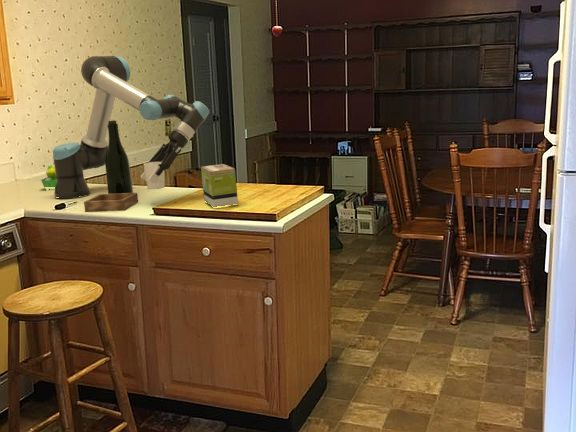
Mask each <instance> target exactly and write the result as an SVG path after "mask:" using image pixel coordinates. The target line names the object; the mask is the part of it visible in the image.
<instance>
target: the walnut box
mask: <svg viewBox="0 0 576 432" xmlns="http://www.w3.org/2000/svg"><path fill="white" fill-rule="evenodd" d="M138 203H139V195H138V192H133V193H118V194H108V193H101V194H100V193H99V194H97V195H96V196H93V197H91V198H89V199H88V200H85V201H84V202H83V204H84V205H83V206H84V212H85V213H92V212H93V213H96V212H119V211H120V212H121V211H126V210H128V209H130V208H132V207H133V206H134V205H136V204H138Z"/></svg>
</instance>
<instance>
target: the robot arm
mask: <svg viewBox="0 0 576 432" xmlns="http://www.w3.org/2000/svg"><path fill="white" fill-rule="evenodd" d="M80 68H81V69H80V73H81V76H82V78H83V80H84V81H85V82H86V83H87V84H88V85H90V86H91V87H93V88H95V89H96V91H95V94H94V99H93V103H92V109H91V111H90V116H89V120H88V125H87V130H86V134H85V135H83V136H82V137H81V141H80V143H79V142H76V141H75V142H68V143H62V144H59V145H57V146H55V147H53V149H52V154H53V155H52V158H53V164H54V167H55V172H56V179H57V182H56V187H55V190H54V198H55V197H59V198H71V199H74V198H73V197H79V196H84V195H87V196H89V195H90V194H91V191H90V188H89V185H88V184H87V181H86V179H85V176H84V171H86V170H91V169H98V168H101V167H103V166H105V158H106V153H107V149H108V144H109V142H108V140H106V137H107V135H108V127H107V126H108V121H111V117H112V113H113V109H114V105H115V101H116V99H118V100H120V101H122V102H123V103H125V104H127V105H129V106H130V107H132V108H134V109H135V110H138V111H139V114H140V115H141V117H142V118H143V119H145V120H146V121H155V120H160V119H161V120H162V119H169V118H177V119H179V122H178V123H177V124H176V126H175V127H174V129H173V130H172V131H171V132H170V134H169V135H168V137H167V138H168V140H169V142H167V143H166V144H165V143H163V144H162V145H161V146H160V148H159V149H158V151H156V153H155V154H154V155H153V156H152V158H150V160H149V161H148V163H149V162H161V164H158V165H159V166H160V167H159V166H158V167H157V168H156V170H155V171H154V172H153V173H152V175H151V176H150V177H149V179H148V180H150V181H151V182H152V183H153V184H154V183H155V182H156V180H157V179H158V178H159V176H160V175H161V174H162V172H163V171H164V172H165V171H166V170H169V169H170V167H171V165H172V164H173V163H174V161H175V160H176V158H177V156H178V155H179V154H180V153H181V152H182V149H184V148H185V146H186V145H188V143H189V141H190V140H191V139H192V138H194V134H195V133H196V132H197V131H198V129H199V128H200V127H201V125H202V124H203V123H204V122H205V121H206V119H207V117H208V115H209V114H210V109H209V108H208V106H207V105H205V104H204V103H203V102H202V101H200V100H199V101H198V100H196V101H194V102H193V103H189V102H187V101H185V100H184V99H181V98H180V97H179V96H177V95H176V96H175V95H173V94H167V95H166V96H164V97H163V99H162V98H161V99H158V98H155V97H153V96H152V95H150V94H148V93H147V92H145V91H143V90H141V89H140V88H138V87H137V86H134V85H132V84H131V83H129V82H128V81H129V80H130V77H131V68H130V66H129V63H128V61H127V60H126V59H125V58H123V57H122V56H118V55H117V56H116V55H104V56H103V55H100V56H99V55H94V56H93V55H92V56H89V57H88V58H86V59H85V60H84V61H83V62H82V64H81V67H80ZM140 179H142V180H143V181H145V182H146V177H145V171H143V173H141V175H140ZM88 194H89V195H88ZM84 197H85V196H84ZM79 198H80V197H79Z"/></svg>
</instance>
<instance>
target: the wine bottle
mask: <svg viewBox="0 0 576 432" xmlns="http://www.w3.org/2000/svg"><path fill="white" fill-rule="evenodd" d="M107 127H108V131H107V134H108V149H107V153H106V158H105V165H104V166H105V175H106V185H107V186H106V187H107V194H118V193H134V187H133V182H132V181H133V180H132V173H131V167H130V162H129V157H128V154H127V152H126V151H125V148H124V146H123V145H122V141H121V138H120V132H119V124H118V123H117V120H110V121H108V126H107Z"/></svg>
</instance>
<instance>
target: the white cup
mask: <svg viewBox="0 0 576 432" xmlns="http://www.w3.org/2000/svg"><path fill="white" fill-rule="evenodd" d="M161 162H162V161H161ZM161 162H149V161H148V162H145V163H143V170H144V171H145V177H146V181H145V182H146V188H147V190H161V189H164V188H165V186H166V185H165V170H164V171H163V172H162V174H161V175H160V176H159V178H158V179H157V180H156V182H155V183H154V184H153V183H152V182H151V181H150V180H148V179H149V177H150V176H151V175H152V173H153V172H154V171H155V170H156V168H157V167H158V166H159V165H158V164H161ZM159 167H160V166H159ZM144 171H143V172H144Z"/></svg>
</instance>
